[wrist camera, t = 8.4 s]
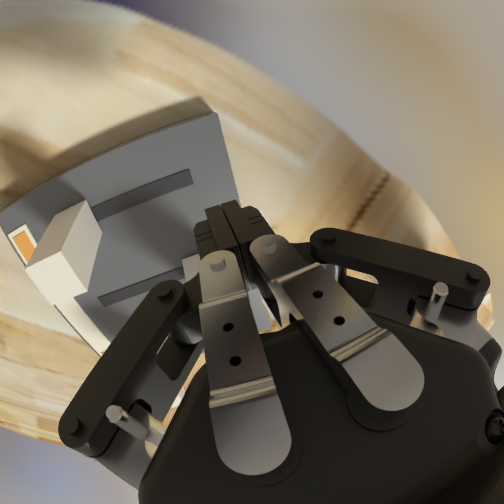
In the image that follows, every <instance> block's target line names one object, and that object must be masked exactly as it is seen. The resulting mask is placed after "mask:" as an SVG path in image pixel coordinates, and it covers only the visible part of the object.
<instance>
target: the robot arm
mask: <svg viewBox="0 0 504 504" xmlns="http://www.w3.org/2000/svg"><path fill="white" fill-rule="evenodd" d="M220 205H221V207H220ZM220 205H216V206H213V207H210V208H206V209H204V210H205V213H206V217H207V220H204V221H201V222H198V223H196V225H195V227H194V229H193V231H194V235H195V240H196V244H197V248H198V252H199V256H200V260H201V261H200V263H199V272H198V273H197V274H196V275H195V276H194V277H193V278H192V279H191V280H189V281H187V282H186V283H184V284H182V283H181V282H180V281H178V280H165V281H162V282H160V283H158V284H157V285H155V286H154V287H153V288H152V289H151V290H150V291H149V293H148V294H147V295H146V297H145V298H144V299H143V301H142V302H141V303H140V304H139V306H138V307H137V308H136V310H135V311H134V312H133V314H132V315H131V316H130V318H129V319H128V320H127V322H126V323H125V324H124V326H123V327H122V329H121V330H120V331H119V333H118V334H117V335H116V337H115V338H114V340H113V341H112V342H111V344H110V345H109V346H108V348H107V349H106V351H105V352H104V354H103V355H102V356H101V358H100V359H99V361H98V362H97V364H96V365H95V366H94V368H93V369H92V371H91V372H90V374H89V375H88V377H87V378H86V380H85V381H84V383H83V384H82V386H81V387H80V389H79V390H78V392H77V393H76V395H75V396H74V398H73V399H72V401H71V402H70V404H69V405H68V407H67V409H66V410H65V412H64V413H63V415H62V417H61V419H60V421H59V426H58V432H59V436H60V439H61V441H62V442H63V443H64V444H65V445H66V446H68V447H70V448H72V449H74V450H76V451H78V452H80V453H82V454H83V455H84V456H86V457H89V458H91V459H93V460H95V461H98V462H100V463H101V464H102V465H104V466H105V467H106V468H107V469H109V470H110V471H111V472H113V473H114V474H115V475H117V476H118V477H120V478H121V479H122V480H124V481H125V482H127V483H128V484H130V485H131V486H133V487H134V488H136V489H137V490H139V492H138V498H139V504H504V386H503V387H502V388H501V389H500V390H499V391H498V390H497V388H496V386H495V384H494V374H495V370H496V367H497V364H498V362H499V359H500V357H501V354H502V349H501V347H500V346H499V344H498V343H497V342H496V341H495V339H494V338H493V337H492V336H491V335H490V334H489V333H488V332H487V330H486V329H485V328H484V327H483V326H482V325H481V324H480V323H479V322H478V321H477V310H478V308H479V306H480V304H481V303H482V301H483V299H484V297H485V294H486V292H487V290H488V288H489V286H490V278H489V276H488V274H487V272H486V271H485V270H484V269H483V268H481V267H480V266H478V265H476V264H473V263H470V262H466V261H463V260H459V259H456V258H452V257H448V256H445V255H441V254H437V253H434V252H430V251H426V250H422V249H419V248H415V247H411V246H407V245H403V244H399V243H395V242H391V241H387V240H383V239H379V238H375V237H371V236H366V235H362V234H358V233H353V232H349V231H345V230H340V229H336V228H323V229H319V230H317V231H315V232H314V233H313V234H312V235H311V236H310V242H305V243H289V242H288V241H287V240H286V239H285V238H284V237H282V236H280V235H276V234H275V233H274V231H273V230H272V229H271V227H270V226H269V224H268V223H267V222H266V220H265V219H264V217H263V216H262V215H261V213H260V212H259V211H258V209H256V208H254V207H252V206H247V207H244V208H241V207H240V205H239V204H238V202H237V200H236V199H235V200H231V201H228V202H225V203H222V204H220ZM347 268H348V269H352V270H355V271H359V272H362V273H366V274H369V275H372V276H374V277H375V278H376V279H377V280H378V283H379V284H375V283H371V282H368V281H364V280H361V279H357V278H354V277H350V276H347V275H346V271H347ZM248 282H249V283H248ZM249 284H250V287H251V289H252V290H254V289H257V288H258V289H259V291H260V294H261V298H262V302H263V304H264V306H265V307H266V309H267V311H268V312H269V314H270V316H271V318H272V319H273V321H274V323H275V324H276V326H277V328H278V329H279V331H277V332H271V333H264V334H259V332H258V329H257V326H256V322H255V319H254V316H253V312H252V309H251V306H250V298H249V295H248V291H250V287H249ZM168 335H169V336H168ZM167 336H168V338H167ZM166 338H167V339H166ZM165 339H166V341H165ZM164 341H165V343H164V344H163V342H164ZM162 344H163V346H162ZM161 346H162V347H161ZM160 347H161V349H160ZM159 349H160V350H159ZM203 349H204V352H205V360H206V363H205V364H204V365H203V366H202V367H201V368H200V369H199V370H198V372H197V373H196V374H195V376H194V377H193V379H192V381H191V382H190V384H189V386H188V388H187V390H186V392H185V394H184V396H183V398H182V400H181V402H180V404H179V406H178V408H177V410H176V412H175V414H174V416H173V418H172V420H171V422H170V424H169V426H168V428H167V430H166V432H165V428H164V425H163V424H162V422H163V420H164V418H165V417H166V415H167V413H168V411H169V409H170V408H171V406H172V404H173V402H174V401H175V399H176V397H177V395H178V393H179V392H180V390H181V388H182V386H183V385H184V383H185V381H186V379H187V377H188V376H189V374H190V372H191V370H192V368H193V367H194V365H195V363H196V361H197V359H198V358H199V356H200V354H201V352H202V350H203ZM158 350H159V352H158ZM157 352H158V354H157Z"/></svg>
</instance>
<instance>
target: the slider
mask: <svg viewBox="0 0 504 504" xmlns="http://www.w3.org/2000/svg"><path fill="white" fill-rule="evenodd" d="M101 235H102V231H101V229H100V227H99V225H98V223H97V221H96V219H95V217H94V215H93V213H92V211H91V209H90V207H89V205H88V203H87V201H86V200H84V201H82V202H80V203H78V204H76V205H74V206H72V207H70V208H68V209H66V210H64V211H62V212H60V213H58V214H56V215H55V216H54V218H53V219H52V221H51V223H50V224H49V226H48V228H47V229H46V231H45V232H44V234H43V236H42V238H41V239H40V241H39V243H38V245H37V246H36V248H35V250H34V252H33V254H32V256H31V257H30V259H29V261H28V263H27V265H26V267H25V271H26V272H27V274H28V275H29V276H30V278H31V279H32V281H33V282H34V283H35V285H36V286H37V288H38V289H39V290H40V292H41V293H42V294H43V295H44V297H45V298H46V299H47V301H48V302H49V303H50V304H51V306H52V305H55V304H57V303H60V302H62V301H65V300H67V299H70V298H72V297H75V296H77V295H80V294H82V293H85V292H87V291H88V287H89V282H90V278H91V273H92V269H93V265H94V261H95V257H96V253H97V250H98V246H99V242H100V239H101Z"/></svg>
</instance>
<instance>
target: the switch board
mask: <svg viewBox="0 0 504 504" xmlns="http://www.w3.org/2000/svg"><path fill="white" fill-rule="evenodd" d="M235 199H236V200H237V202H238V204H239V205H240V201H239V197H238V193H237V189H236V185H235V181H234V177H233V173H232V169H231V165H230V161H229V157H228V154H227V150H226V146H225V142H224V138H223V134H222V130H221V126H220V122H219V118H218V114H217V113H215V112H211V113H207V114H204V115H200V116H197V117H194V118H191V119H187V120H184V121H181V122H178V123H175V124H172V125H169V126H166V127H164V128H161V129H158V130H155V131H153V132H150V133H147V134H145V135H142V136H139V137H137V138H134V139H132V140H130V141H127V142H125V143H122V144H120V145H118V146H115V147H113V148H111V149H108V150H106V151H104V152H102V153H100V154H98V155H95V156H93V157H91V158H89V159H87V160H85V161H83V162H81V163H79V164H77V165H75V166H73V167H71V168H69V169H67V170H65V171H64V172H62V173H60V174H58V175H56V176H54V177H53V178H51V179H49V180H47V181H46V182H44V183H42V184H40V185H39V186H37V187H35V188H34V189H32V190H31V191H29V192H27V193H26V194H24V195H23V196H21V197H19V198H18V199H16V200H15V201H13V202H12V203H10V204H9V205H7V206H6V207H4V208H3V209H2V210H1V211H0V226H1V228H2V230H3V232H4V233H5V235H6V237H7V239H8V240H9V242H10V244H11V245H12V247H13V248H14V250H15V252H16V253H17V255H18V256H19V258H20V259H21V261H22V263H23V264H24V266H25V267H26V265H27V263H28V261H29V259H30V257H31V256H32V254H33V252H34V250H35V248H36V246H37V245H38V243H39V241H40V239H41V238H42V236H43V234H44V232H45V231H46V229H47V228H48V226H49V224H50V223H51V221H52V219H53V218H54V216H55V215H56V214H58V213H60V212H62V211H64V210H66V209H68V208H70V207H72V206H74V205H76V204H78V203H80V202H82V201H84V200H86V201H87V203H88V205H89V207H90V209H91V211H92V213H93V215H94V217H95V219H96V221H97V223H98V225H99V227H100V229H101V231H102V235H101V239H100V242H99V246H98V250H97V253H96V257H95V261H94V265H93V269H92V273H91V278H90V282H89V287H88V291H87V292H85V293H82V294H80V295H77V296H75V297H72V298H70V299H67V300H65V301H62V302H60V303H57V304H55V305H54V306H55V308H56V309H57V310H58V311H59V312H60V314H61V315H62V316H63V317H64V318H65V320H66V321H67V322H68V323H69V324H70V325H71V327H72V328H73V329H74V330H75V331H76V332H77V333H78V334H79V335H80V337H81V338H82V339H83V340H84V341H85V342H86V343H87V344H88V345H89V346H90V347H91V348H92V349H93V350H94V351H95V352H96V353H97V354H98V355H99V356H100V357H101V356H102V355H103V354H104V352H105V351H106V349H107V348H108V346H109V345H110V344H111V342H112V341H113V340H114V338H115V337H116V335H117V334H118V333H119V331H120V330H121V329H122V327H123V326H124V324H125V323H126V322H127V320H128V319H129V318H130V316H131V315H132V314H133V312H134V311H135V310H136V308H137V307H138V306H139V304H140V303H141V302H142V301H143V299H144V298H145V297H146V295H147V294H148V293H149V291H150V290H151V289H152V288H153V287H154V286H155V285H157V284H158V283H160V282H162V281H165V280H178V281H180V282H181V283H182V284H184V283H186V279H185V274H184V268H183V263H182V259H185V258H188V257H191V256H193V255H196V254H199V252H198V248H197V244H196V240H195V235H194V231H193V229H194V227H195V225H196V223H198V222H201V221H204V220H207V217H206V213H205V210H204V209H206V208H210V207H213V206H216V205H220V204H222V203H225V202H228V201H231V200H235ZM220 207H221V205H220ZM240 207H241V205H240ZM248 283H249V282H248ZM249 287H250V284H249ZM248 295H249V298H250V306H251V309H252V312H253V316H254V319H255V322H256V326H257V329H258V332H262V331H264V330H267V329H269V328H272V327H271V323H270V319H269V315H268V311H267V309H266V307H265V306H264V304H263V302H262V298H261V294H260V291H259V289H258V288H257V289H254V290H252V289H251V287H250V291H248ZM168 336H169V335H168ZM168 336H167V337H168ZM203 352H204V349H203V350H202V352H201V353H203Z"/></svg>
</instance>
